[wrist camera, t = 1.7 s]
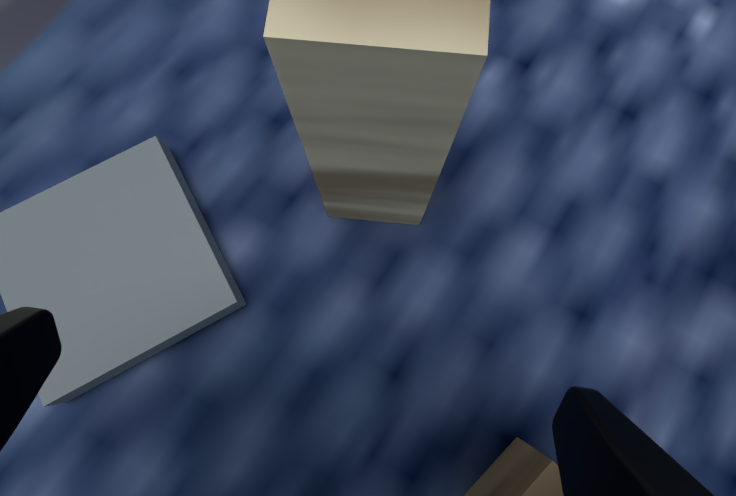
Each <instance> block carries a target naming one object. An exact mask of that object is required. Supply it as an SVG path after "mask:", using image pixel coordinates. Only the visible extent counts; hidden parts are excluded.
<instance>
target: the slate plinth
mask: <svg viewBox="0 0 736 496" xmlns="http://www.w3.org/2000/svg"><path fill="white" fill-rule="evenodd" d="M0 294H1V296H2V299H3V301H4V304H5V307H6V309H7V312H9V311H12V310H14V309H17V308H20V307H34V308H40V309H46V310H49V311H50V312H51V313H52V314H53V316H54V319H55V323H56V327H57V330H58V334H59V337H60V341H61V345H62V350H61V355H60V357H59V360H58V362H57V363H56V365H55V366H54V368H53V370H52V371H51V373H50V374H49V376H48V378H47V379H46V381H45V382H44V384H43V386H42V387H41V389H40V391H39V392H38V394H39V397H40V400H41V402H42V405H43V407H44V406H49V405H55V404H60V403H65V402H68V401H70V400H72V399H74V398H76V397H78V396H79V395H81V394H83V393H85V392H87V391H89V390H90V389H92V388H94V387H96V386H98V385H100V384H101V383H103V382H105V381H107V380H109V379H111V378H112V377H114V376H116V375H118V374H120V373H122V372H124V371H125V370H127V369H129V368H131V367H133V366H135V365H136V364H138V363H140V362H142V361H144V360H146V359H147V358H149V357H151V356H153V355H155V354H157V353H158V352H160V351H162V350H164V349H166V348H168V347H170V346H171V345H173V344H175V343H177V342H179V341H181V340H182V339H184V338H186V337H188V336H190V335H192V334H193V333H195V332H197V331H199V330H201V329H203V328H204V327H206V326H208V325H210V324H212V323H214V322H216V321H217V320H219V319H221V318H223V317H225V316H227V315H228V314H230V313H232V312H234V311H236V310H238V309H239V308H241V307H243V306H245V305H247V304H246V302H245V300H244V298H243V296H242V294H241V292H240V290H239V288H238V286H237V284H236V282H235V280H234V278H233V276H232V274H231V272H230V270H229V268H228V266H227V264H226V262H225V260H224V258H223V256H222V254H221V252H220V250H219V248H218V246H217V244H216V242H215V239H214V237H213V235H212V233H211V231H210V229H209V227H208V225H207V223H206V221H205V219H204V217H203V215H202V213H201V211H200V209H199V207H198V205H197V203H196V201H195V199H194V197H193V195H192V193H191V191H190V189H189V187H188V185H187V183H186V181H185V179H184V177H183V175H182V173H181V171H180V169H179V167H178V165H177V163H176V161H175V159H174V157H173V155H172V153H171V150H170V149H169V148H168V147H167V146H166V145H165V144H164V143H163V142H162V141H161V140H160V139H158V138H157V137H156V136H154V137H152V138H150V139H148V140H146V141H144V142H142V143H140V144H138V145H136V146H134V147H132V148H130V149H128V150H126V151H124V152H122V153H120V154H118V155H116V156H114V157H112V158H110V159H108V160H106V161H104V162H102V163H100V164H98V165H96V166H94V167H92V168H90V169H88V170H86V171H83V172H81V173H79V174H77V175H75V176H73V177H71V178H69V179H67V180H65V181H63V182H61V183H59V184H57V185H55V186H53V187H51V188H49V189H47V190H45V191H43V192H41V193H39V194H37V195H35V196H33V197H31V198H29V199H27V200H25V201H23V202H21V203H19V204H17V205H15V206H13V207H11V208H9V209H7V210H4V211H2V212H0Z"/></svg>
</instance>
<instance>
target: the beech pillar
mask: <svg viewBox="0 0 736 496" xmlns="http://www.w3.org/2000/svg"><path fill="white" fill-rule="evenodd" d="M489 16H490V0H270V2H269V7H268V13H267V19H266V24H265V30H264V36H263V37H264V40H265V43H266V45H267V48H268V51H269V54H270V57H271V59H272V62H273V65H274V68H275V70H276V73H277V76H278V79H279V82H280V84H281V87H282V90H283V93H284V96H285V98H286V101H287V104H288V107H289V109H290V112H291V115H292V118H293V121H294V123H295V126H296V129H297V132H298V134H299V137H300V140H301V143H302V146H303V148H304V151H305V154H306V157H307V159H308V162H309V165H310V168H311V171H312V173H313V176H314V179H315V182H316V185H317V187H318V190H319V193H320V196H321V198H322V201H323V204H324V207H325V210H326V212H327V215H328V216H329V217H340V218H350V219H360V220H370V221H381V222H391V223H401V224H411V225H420V223H421V220H422V218H423V215H424V213H425V210H426V208H427V205H428V203H429V200H430V198H431V195H432V193H433V190H434V188H435V185H436V183H437V180H438V178H439V175H440V173H441V170H442V168H443V165H444V163H445V160H446V158H447V155H448V153H449V150H450V148H451V145H452V143H453V140H454V138H455V135H456V133H457V130H458V128H459V125H460V123H461V120H462V118H463V115H464V113H465V110H466V108H467V105H468V103H469V100H470V98H471V95H472V93H473V90H474V88H475V85H476V83H477V80H478V78H479V75H480V73H481V70H482V68H483V65H484V63H485V60H486V58H487V53H488V34H489Z"/></svg>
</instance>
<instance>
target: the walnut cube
mask: <svg viewBox="0 0 736 496" xmlns="http://www.w3.org/2000/svg"><path fill="white" fill-rule="evenodd" d="M464 496H563V491H562V485H561V479H560V473H559V467H558V465H557V464H556V463H555V462H554V461H553V460H551V459H550V458H548V457H547V456H545V455H544V454H542V453H541V452H539V451H538V450H536V449H535V448H533V447H532V446H530V445H529V444H527V443H526V442H524V441H522V440H521V439H519V438H518V437H516V438H515V439H514V441H513V442H512V443H511V444H510V445H509V446H508V447H507V448H506V449H505V451H504V452H503V453H502V454H501V455H500V456H499V457H498V458H497V459H496V460H495V462H494V463H493V464H492V465H491V466H490V467H489V468H488V469H487V470H486V471H485V473H484V474H483V475H482V476H481V477H480V478H479V479H478V480H477V481H476V482H475V484H474V485H473V486H472V487H471V488H470V489H469V490H468V491H467V492H466V493H465V495H464Z"/></svg>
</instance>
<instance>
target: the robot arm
mask: <svg viewBox="0 0 736 496" xmlns="http://www.w3.org/2000/svg"><path fill="white" fill-rule="evenodd" d="M61 350H62V345H61V341H60V337H59V334H58V330H57V327H56V323H55V319H54V316H53V314H52V313H51V312H50V311H49V310H46V309H40V308H34V307H20V308H17V309H14V310H12V311H9V312H6V313H4V314H1V315H0V451H1V449H2V448H3V447H4V445H5V444H6V443H7V441H8V440H9V438H10V437H11V435H12V434H13V432H14V431H15V429H16V428H17V426H18V424H19V423H20V421H21V419H22V418H23V416H24V415H25V413H26V411H27V410H28V408H29V407H30V405H31V403H32V402H33V400H34V399H35V397H36V395H37V394H38V392H39V391H40V389H41V387H42V386H43V384H44V382H45V381H46V379H47V378H48V376H49V374H50V373H51V371H52V370H53V368H54V366H55V365H56V363H57V362H58V360H59V357H60V355H61ZM552 430H553V437H554V443H555V449H556V455H557V461H558V467H559V473H560V479H561V485H562V491H563V496H714V495H713V494H712V493H711V492H710V491H709V490H707V489H706V488H705V487H704V486H703V485H702V484H701V483H700V482H699V481H697V480H696V479H695V478H694V477H693V476H692V475H691V474H690V473H689V472H687V471H686V470H685V469H684V468H683V467H682V466H681V465H680V464H679V463H677V462H676V461H675V460H674V459H673V458H672V457H671V456H670V455H669V454H667V453H666V452H665V451H664V450H663V449H662V448H661V447H660V446H658V445H657V444H656V443H655V442H654V441H653V440H652V439H651V438H650V437H648V436H647V435H646V434H645V433H644V432H643V431H642V430H641V429H640V428H638V427H637V426H636V425H635V424H634V423H633V422H632V421H631V420H630V419H628V418H627V417H626V416H625V415H624V414H623V413H622V412H621V411H619V410H618V409H617V408H616V407H615V406H614V405H613V404H612V403H611V402H609V401H608V400H607V399H606V398H605V397H604V396H603V395H602V394H601V393H599V392H598V391H596V390H594V389H590V388H583V387H576V386H574V387H571V388H569V389H568V390H567V392H566V394H565V396H564V398H563V400H562V402H561V404H560V406H559V408H558V410H557V412H556V414H555V416H554V419H553V425H552Z"/></svg>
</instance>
